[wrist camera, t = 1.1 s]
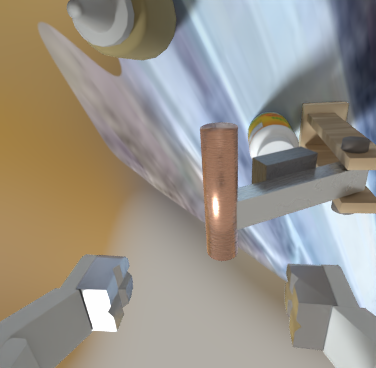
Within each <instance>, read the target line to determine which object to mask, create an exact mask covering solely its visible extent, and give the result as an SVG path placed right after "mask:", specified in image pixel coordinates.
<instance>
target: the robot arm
mask: <svg viewBox="0 0 376 368" xmlns="http://www.w3.org/2000/svg"><path fill="white" fill-rule="evenodd" d="M128 268H129V262H128V258H126V257H120V256H106V255H87V254H86V255H84V256H82V258H81V259H80V260H79V262H78V263H77V265H76V266H75V268H74V269H73V270H72V272H71V273H70V275H69V276H68V277H67V279H66V280H65V282H64V283H63V285H62V286H61V287H60V288H58V289H57V288H55V289H54V290H52V291H50V292H49V293H47V294H45V295H44V296H42V297H41V298H39V299H37V300H35V301H34V302H32V303H30V304H29V305H27V306H25V307H24V308H22V309H20V310H19V311H17V312H16V313H14V314H12V315H11V316H9V317H7V318H6V319H4V320H2V321H1V322H0V368H54V367H56V366H57V365H58V364H59V363H60V362H61V361H62V360H63V359H64V358H65V357H66V356H67V355H68V354H69V353H70V352H72V351H73V350H74V348H76V347H77V346H78V345H79V344H80V343H81V342H82V341H83V340H84V339H85V338H86V337H87V336H89V335H90V334H91V333H92V330H98V331H118V328H119V326H120V323H121V320H122V318H123V316H124V311H123V307H124V306H126V305H127V304H128V303H129V301H130V298H131V295H132V289H133V280H132V276H131V275H130V273H128V271H127V270H128ZM286 275H287V280H288V282H287V283H285V307H286V313H287V315H288V316H289V317H290V322H289V329H290V335H291V340H292V345H293V347H297V348H306V349H315V350H323V352H324V354H325V355H326V356H327V357H328V359H329V360H330V361H331V362H332V363H333V365H334V366H335V367H336V368H376V316H375V315H373V314H372V313H371V312H369V311H368V310H367V309H366V308H360V307H359V305H358V303H357V301H356V299H355V297H354V295H353V292H352V290H351V288H350V286H349V284H348V282H347V280H346V277H345V275H344V273H343V271H342V269H341V267H340V266H339V265H308V264H288V265H287V270H286Z"/></svg>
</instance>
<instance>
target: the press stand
mask: <svg viewBox="0 0 376 368" xmlns="http://www.w3.org/2000/svg"><path fill="white" fill-rule="evenodd" d="M348 106H349V103H347V102H323V103H303V105H302V115H301V125H300V135H299V147H300V146H302V147H304V148H307V149H309V150H312V151H314V152H316V153H318V156H317V163H316V167H320V166H323V165H327V164H331V163H335V162H339V161H340V162H341V163H342V164H343V165H344V166H345V168H346V169H347V170H376V145H375V144H374V143H373V142H371V141H370V140H369V139H368V138H366V137H365V136H364V135H362V134H361V133H360V132H359V131H357V130H356V129H355V128H353V127H352V126H351V125H350V124H348V123H347V122H346V118H347V112H348ZM331 208H332V210H333V211H335V212H337V213H339V214H344V215H350V214H353V213H376V197H375V196H374V195H373V194H372V192H371V191H370V190H369V189H368V188H367V187H366V186H365V189H364V190H363V191H360V192H357V193H353V194H350V195H347V196H344V197H341V198H337V199H334V200H332V205H331Z"/></svg>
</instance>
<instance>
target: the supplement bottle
mask: <svg viewBox="0 0 376 368" xmlns="http://www.w3.org/2000/svg"><path fill="white" fill-rule="evenodd" d="M248 141H249V150H250V155H251V158H253V157H257V156H261V155H266V154H270V153H274V152H279V151H283V150H287V149H292V148H296V147H299V142H298V139H297V137H296V135H295V133H294V131H293V130H292V128H291V126H290V125H289V123H288V121H287V120H286V119H285V118H284V117H283V116H282V115H280V114H278V113H275V112H266V113H263V114H260V115H259V116H257V117H256V118H255V119H254V120H253V121H252V122H251V124H250V126H249V129H248Z"/></svg>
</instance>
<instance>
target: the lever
mask: <svg viewBox="0 0 376 368" xmlns="http://www.w3.org/2000/svg"><path fill="white" fill-rule="evenodd" d="M200 135H201V152H202V170H203V187H204V204H205V222H206V239H207V253H208V255H209V256H210V257H211V258H213V259H215V260H219V261H226V260H230V259H232V258H234V257H235V256H236V255H237V251H238V229H241V228H245V227H248V226H251V225H254V224H257V223H261V222H264V221H267V220H270V219H273V218H277V217H280V216H283V215H286V214H289V213H293V212H296V211H299V210H302V209H305V208H309V207H312V206H315V205H318V204H321V203H325V202H328V201H331V200H334V199H337V198H341V197H344V196H347V195H350V194H353V193H357V192H360V191H363V190H364V189H365V185H366V180H367V176H368V171H369V170H347V169H346V168H345V166H344V165H343V164H342V163H341V162H340V161H339V162H335V163H331V164H327V165H323V166H320V167H316V163H317V156H318V153H316V152H314V151H312V150H309V149H307V148H304V147H302V146H300V147H296V148H292V149H287V150H283V151H279V152H274V153H270V154H266V155H261V156H257V157H253V158H252V184H251V185H247V186H244V187H240V188H238V126H237V125H235V124H232V123H223V122H222V123H211V124H206V125H204V126H202V127H201V128H200Z"/></svg>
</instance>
